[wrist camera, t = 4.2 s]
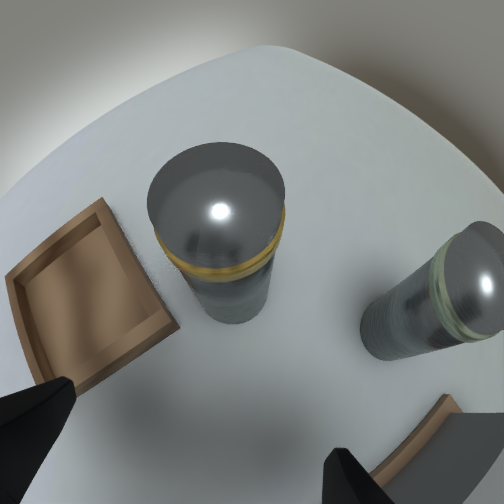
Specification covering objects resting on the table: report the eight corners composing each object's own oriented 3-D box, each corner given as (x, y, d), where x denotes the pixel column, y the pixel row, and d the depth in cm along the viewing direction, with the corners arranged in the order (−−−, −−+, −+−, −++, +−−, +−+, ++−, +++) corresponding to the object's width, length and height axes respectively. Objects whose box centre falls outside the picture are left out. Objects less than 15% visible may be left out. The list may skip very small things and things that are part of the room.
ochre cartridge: (225, 340, 21) (190, 290, 9) (184, 283, 23) (123, 183, 11) (283, 296, 22) (319, 201, 11) (240, 245, 24) (232, 124, 12)
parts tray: (62, 406, 17) (45, 406, 15) (19, 285, 22) (4, 276, 20) (180, 327, 21) (171, 321, 19) (112, 211, 26) (102, 197, 23)
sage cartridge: (387, 376, 19) (505, 357, 7) (345, 326, 21) (439, 263, 9) (426, 329, 21) (534, 277, 9) (388, 283, 23) (479, 200, 11)
